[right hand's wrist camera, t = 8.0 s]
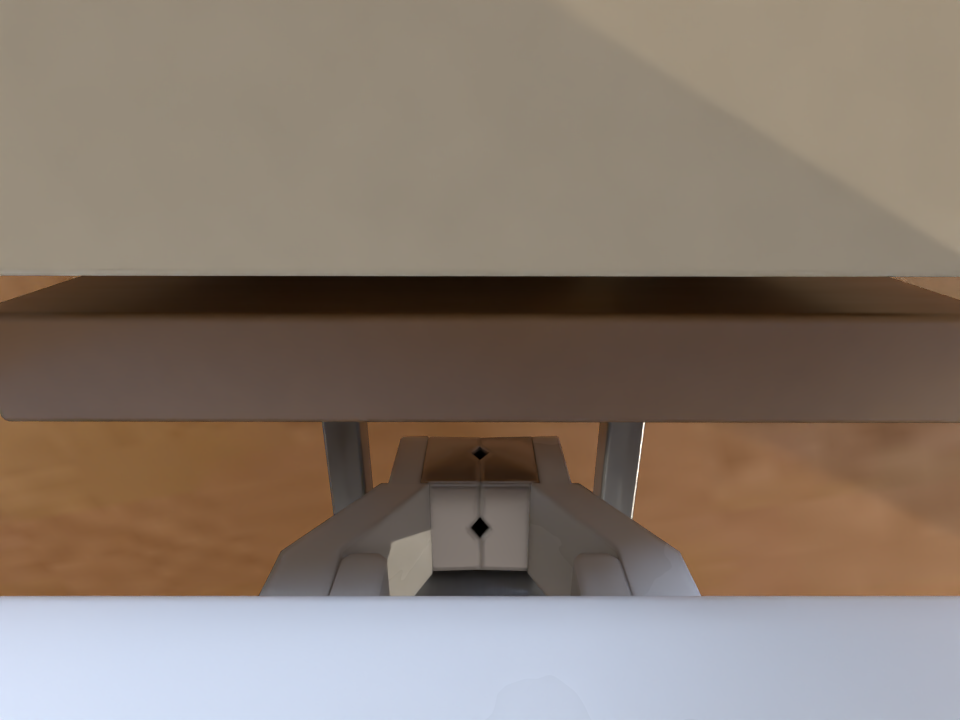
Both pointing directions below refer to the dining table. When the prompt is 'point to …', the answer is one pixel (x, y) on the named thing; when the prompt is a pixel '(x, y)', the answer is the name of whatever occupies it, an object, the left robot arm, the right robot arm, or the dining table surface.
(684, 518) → the dining table surface
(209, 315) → the drawer
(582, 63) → the cabinet
